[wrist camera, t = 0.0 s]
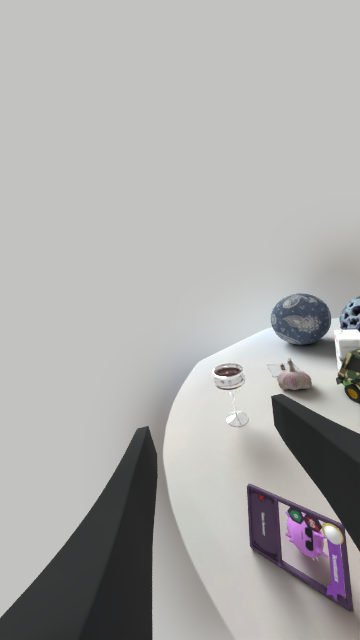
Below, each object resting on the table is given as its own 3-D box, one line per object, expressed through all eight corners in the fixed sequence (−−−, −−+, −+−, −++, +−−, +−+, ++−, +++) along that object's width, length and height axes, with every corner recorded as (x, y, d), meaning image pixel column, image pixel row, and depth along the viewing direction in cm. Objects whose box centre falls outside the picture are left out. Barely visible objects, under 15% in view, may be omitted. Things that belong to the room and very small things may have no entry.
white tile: (302, 373, 55) (301, 367, 54) (272, 376, 56) (271, 370, 56) (292, 362, 62) (291, 357, 62) (266, 365, 64) (265, 360, 64)
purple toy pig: (244, 488, 22) (345, 534, 17) (257, 465, 26) (341, 496, 21) (248, 553, 21) (354, 623, 16) (260, 518, 26) (348, 565, 20)
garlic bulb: (275, 391, 49) (270, 363, 48) (283, 378, 55) (279, 352, 53) (309, 398, 44) (305, 366, 43) (314, 383, 49) (311, 354, 48)
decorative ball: (340, 352, 62) (334, 292, 59) (273, 353, 72) (265, 302, 69) (328, 333, 79) (323, 286, 76) (275, 336, 89) (269, 295, 86)
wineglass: (259, 422, 40) (250, 371, 38) (230, 433, 39) (219, 381, 37) (242, 405, 47) (234, 360, 45) (217, 414, 46) (207, 368, 44)
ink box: (370, 387, 43) (367, 339, 41) (342, 385, 46) (338, 340, 44) (361, 370, 50) (357, 328, 48) (337, 369, 53) (333, 329, 51)
